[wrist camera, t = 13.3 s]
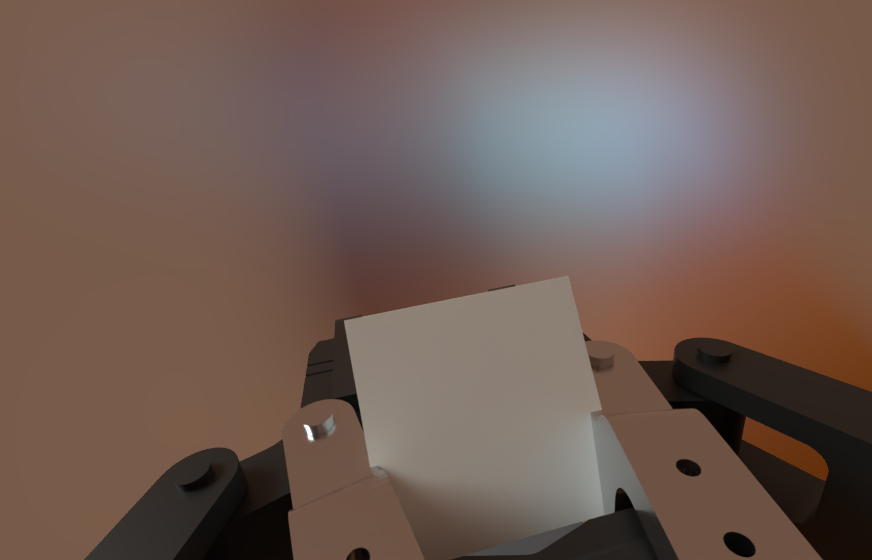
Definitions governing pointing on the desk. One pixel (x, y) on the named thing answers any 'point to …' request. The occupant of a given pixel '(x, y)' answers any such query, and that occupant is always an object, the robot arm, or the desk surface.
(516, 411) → the tall white box
